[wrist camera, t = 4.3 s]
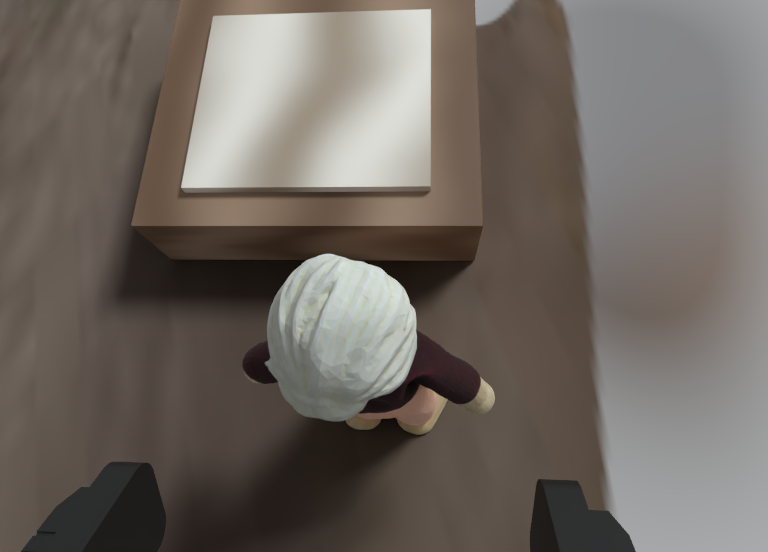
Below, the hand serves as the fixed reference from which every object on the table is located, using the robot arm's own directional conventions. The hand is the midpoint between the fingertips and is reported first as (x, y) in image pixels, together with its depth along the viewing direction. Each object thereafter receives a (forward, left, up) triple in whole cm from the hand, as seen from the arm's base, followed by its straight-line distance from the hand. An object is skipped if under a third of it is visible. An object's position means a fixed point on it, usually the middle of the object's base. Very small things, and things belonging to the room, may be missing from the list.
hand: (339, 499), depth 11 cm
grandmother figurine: (0, +3, -10) cm, 11 cm away
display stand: (-3, +15, -10) cm, 19 cm away
